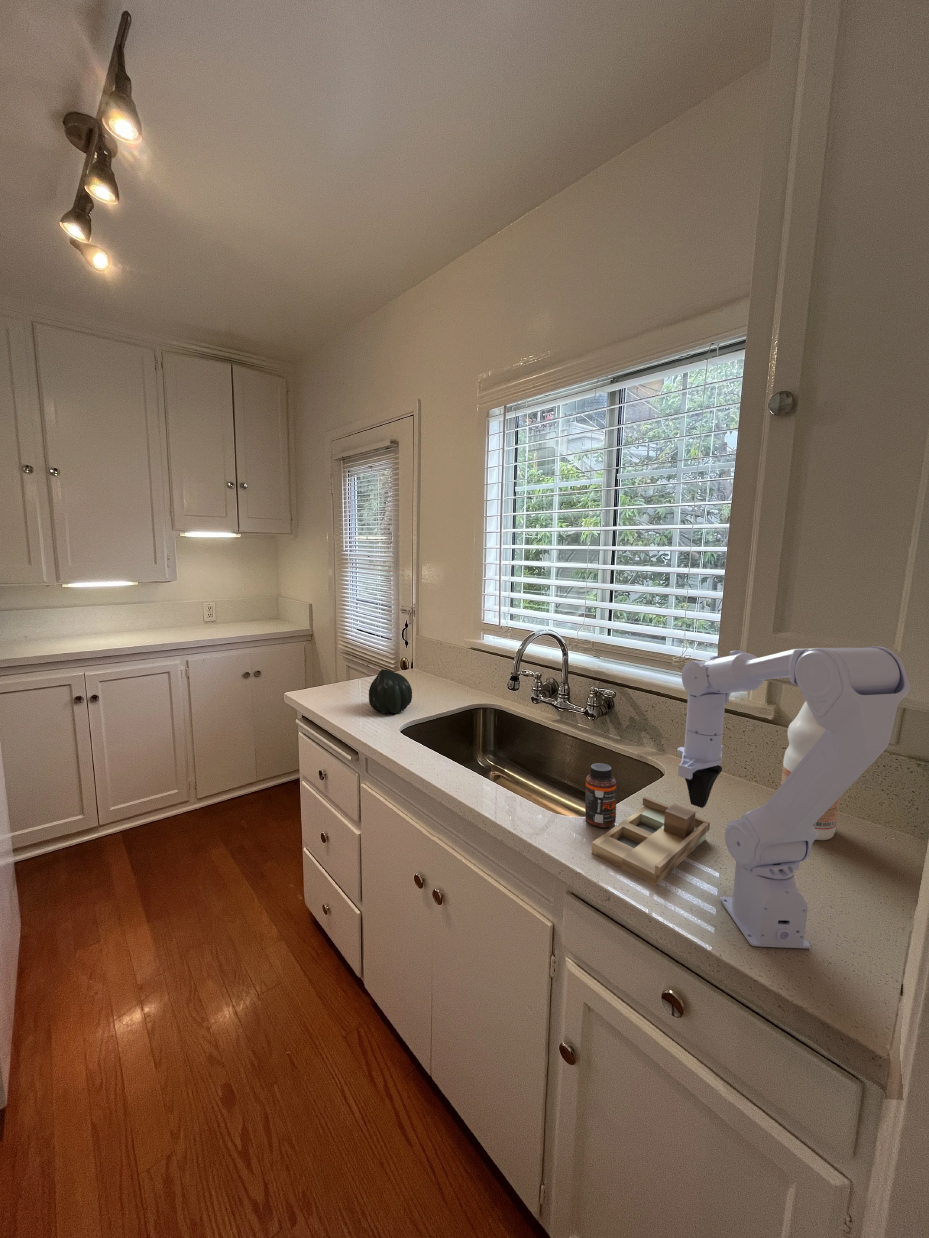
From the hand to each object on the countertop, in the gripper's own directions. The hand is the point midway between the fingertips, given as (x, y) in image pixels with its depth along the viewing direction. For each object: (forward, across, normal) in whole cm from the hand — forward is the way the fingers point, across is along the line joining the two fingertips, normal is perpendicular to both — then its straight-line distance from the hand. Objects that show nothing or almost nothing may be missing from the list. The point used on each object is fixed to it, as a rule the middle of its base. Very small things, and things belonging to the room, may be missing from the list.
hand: (698, 804), depth 87 cm
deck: (+10, +2, -7) cm, 12 cm away
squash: (+10, -9, -103) cm, 104 cm away
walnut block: (+8, -3, -4) cm, 10 cm away
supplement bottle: (+10, +1, -18) cm, 20 cm away
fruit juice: (+10, -26, +11) cm, 31 cm away
